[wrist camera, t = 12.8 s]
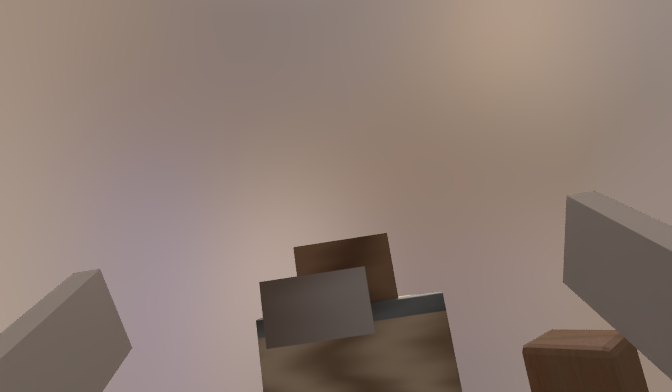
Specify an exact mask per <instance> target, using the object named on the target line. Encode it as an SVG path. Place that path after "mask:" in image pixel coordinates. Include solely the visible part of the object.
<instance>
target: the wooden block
mask: <svg viewBox="0 0 672 392" xmlns="http://www.w3.org/2000/svg"><path fill="white" fill-rule="evenodd" d="M522 353H523V357H524V361H525V366H526V370H527V375H528V379H529V383H530V388H531V392H649V391H648V387H647V384H646V380H645V377H644V373H643V370H642V366H641V363H640V359H639V356H638V352H637V349H636V347H634V346H633V345H632V344H631V343H630V342H629V341H628V340H627V339H626V338H624V337H623V336H622V335H621V334H620V333H619V332H618V331H617V330H551V331H548V332H546V333H545V334H543V335H541V336H539V337H538V338H536V339H534V340H533V341H531V342H529V343H527V344H526V345H524V346H523V352H522Z"/></svg>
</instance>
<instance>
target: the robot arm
mask: <svg viewBox="0 0 672 392" xmlns="http://www.w3.org/2000/svg"><path fill="white" fill-rule="evenodd" d="M563 283H565V284H566V285H567V286H568V287H569V288H570V289H571V290H572V291H573V292H575V293H576V294H577V295H578V296H579V297H580V298H581V299H582V300H583V301H585V302H586V303H587V304H588V305H589V306H590V307H591V308H592V309H593V310H595V311H596V312H597V313H598V314H599V315H600V316H601V317H602V318H603V319H605V320H606V321H607V322H608V323H609V324H610V325H611V326H612V327H613V328H615V329H616V330H617V331H618V332H619V333H620V334H621V335H622V336H623V337H624V338H626V339H627V340H628V341H629V342H630V343H631V344H632V345H633V346H634V347H636V348H637V349H638V350H639V351H640V352H641V353H642V354H643V355H645V356H646V357H647V358H648V359H649V360H650V361H651V362H652V363H653V364H655V365H656V366H657V367H658V368H659V369H660V370H661V371H662V372H663V373H665V374H666V375H667V376H668V377H669V378H670V379H671V380H672V226H670V225H667V224H665V223H663V222H661V221H659V220H657V219H655V218H652V217H650V216H648V215H646V214H643V213H641V212H639V211H637V210H635V209H633V208H631V207H628V206H626V205H624V204H622V203H620V202H617V201H615V200H613V199H611V198H609V197H607V196H604V195H602V194H600V193H598V192H596V191H592V192H585V193H579V194H573V195H567V200H566V224H565V249H564V272H563ZM131 349H132V346H131V344H130V341H129V339H128V337H127V334H126V332H125V329H124V327H123V324H122V322H121V319H120V317H119V315H118V312H117V310H116V307H115V305H114V302H113V300H112V298H111V295H110V293H109V290H108V288H107V285H106V283H105V280H104V278H103V275H102V273H101V270H100V269H97V270H91V271H84V272H78V273H73V274H72V275H71V276H70V277H68V278H67V279H66V280H65V281H63V282H62V283H61V284H60V285H59V286H57V287H56V288H55V289H54V290H53V291H51V292H50V293H49V294H48V295H46V296H45V297H44V298H43V299H42V300H40V301H39V302H38V303H37V304H36V305H34V306H33V307H32V308H31V309H30V310H28V311H27V312H26V313H25V314H23V315H22V316H21V317H20V318H19V319H17V320H16V321H15V322H14V323H13V324H11V325H10V326H9V327H8V328H6V329H5V330H4V331H3V332H2V333H0V392H102V391H103V390H104V388H105V387H106V386H107V384H108V383H109V381H110V380H111V378H112V377H113V375H114V374H115V372H116V371H117V369H118V368H119V366H120V365H121V363H122V362H123V361H124V359H125V358H126V356H127V355H128V353H129V352H130V350H131Z"/></svg>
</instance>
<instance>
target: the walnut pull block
mask: <svg viewBox="0 0 672 392" xmlns="http://www.w3.org/2000/svg"><path fill="white" fill-rule="evenodd" d="M294 255H295V263H296V271H297V277H291V278H285V279H278V280H271V281H265V282H260V283H259V284H260V293H261V303H262V311H263V322H264V331H265V340H266V349H271V348H278V347H285V346H292V345H298V344H305V343H312V342H319V341H326V340H332V339H339V338H346V337H353V336H360V335H366V334H373V333H375V328H374V322H373V315H372V309H371V303H370V302H372V301H379V300H385V299H392V298H398V294H397V288H396V283H395V277H394V271H393V265H392V260H391V254H390V248H389V243H388V237H387V233H384V234H377V235H371V236H364V237H358V238H352V239H345V240H338V241H332V242H325V243H319V244H312V245H306V246H299V247H294Z"/></svg>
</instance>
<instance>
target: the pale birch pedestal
mask: <svg viewBox="0 0 672 392" xmlns="http://www.w3.org/2000/svg"><path fill="white" fill-rule="evenodd" d="M370 303H371V309H372V315H373V322H374V328H375V333H373V334H366V335H360V336H353V337H346V338H339V339H332V340H326V341H319V342H312V343H305V344H298V345H292V346H285V347H278V348H271V349H266V340H265V331H264V322H263V318H261V319H258V320H256V325H257V334H258V344H259V354H260V363H261V372H262V383H263V392H462V388H461V383H460V379H459V373H458V368H457V363H456V358H455V353H454V348H453V343H452V338H451V333H450V328H449V323H448V318H447V313H446V308H445V303H444V298H443V293H441V292H432V293H426V294H419V295H405V296H398V298H392V299H385V300H379V301H372V302H370Z"/></svg>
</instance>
